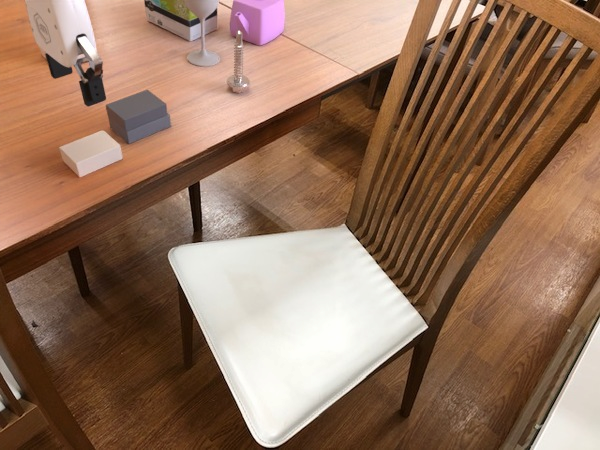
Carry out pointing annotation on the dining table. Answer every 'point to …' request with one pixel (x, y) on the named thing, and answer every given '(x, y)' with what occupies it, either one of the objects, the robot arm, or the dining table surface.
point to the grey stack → (138, 116)
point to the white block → (91, 153)
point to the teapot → (257, 20)
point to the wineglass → (202, 32)
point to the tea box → (178, 18)
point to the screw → (238, 67)
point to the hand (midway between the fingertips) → (78, 88)
